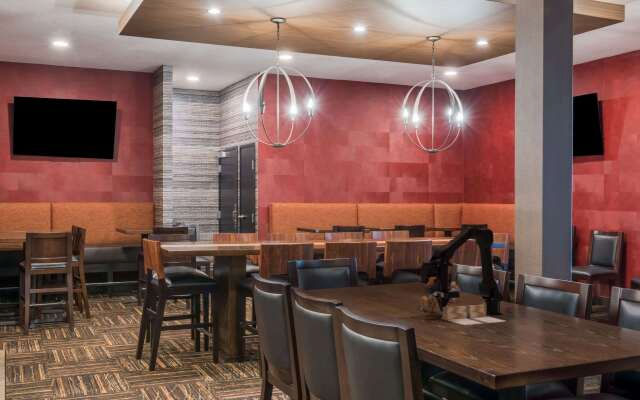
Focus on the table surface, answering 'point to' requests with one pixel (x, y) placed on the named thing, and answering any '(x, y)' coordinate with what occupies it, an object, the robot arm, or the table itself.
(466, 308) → the brown tall flat block
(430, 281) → the doll family
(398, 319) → the table surface
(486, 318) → the board
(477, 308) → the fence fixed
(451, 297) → the robot arm
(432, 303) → the lion figurine
